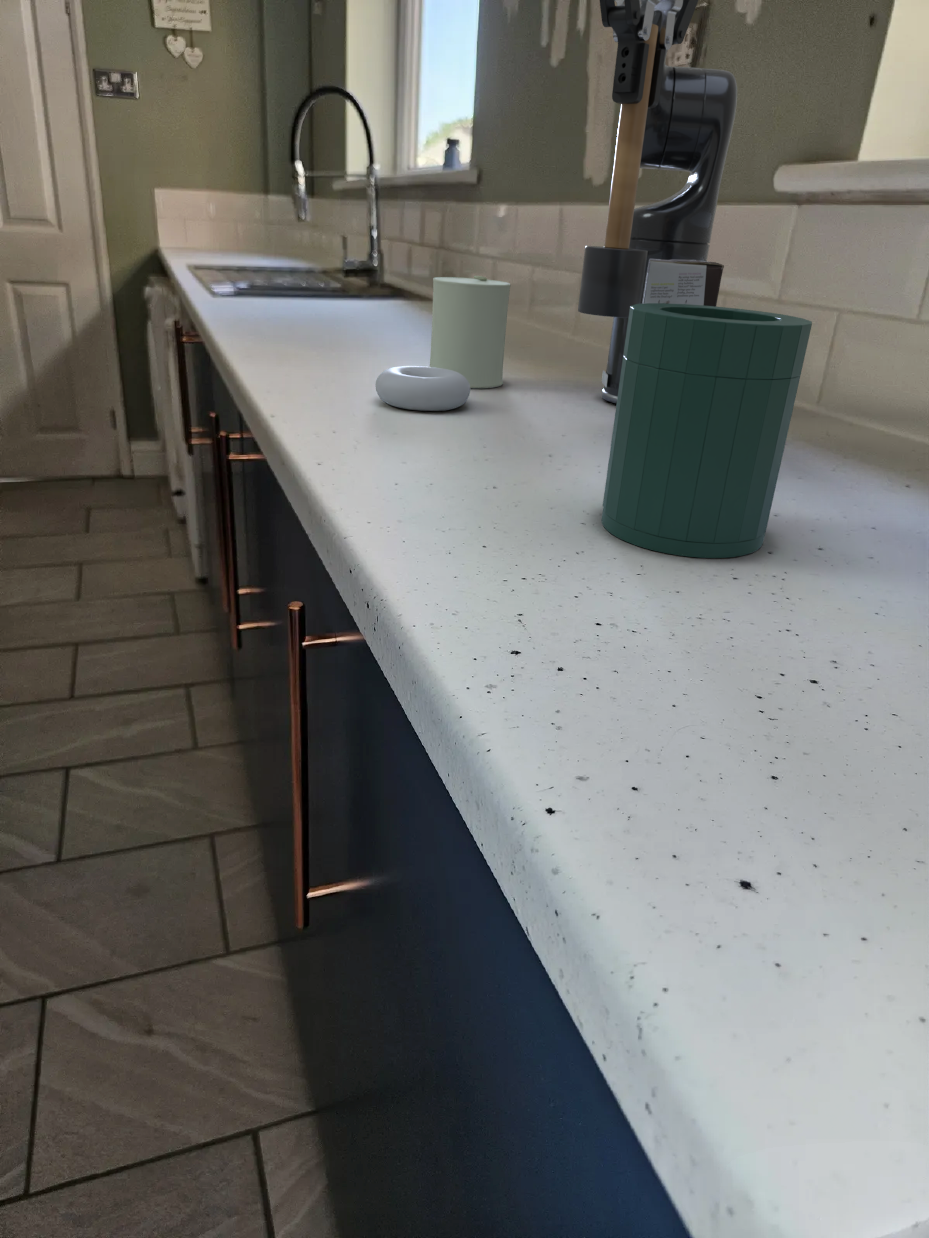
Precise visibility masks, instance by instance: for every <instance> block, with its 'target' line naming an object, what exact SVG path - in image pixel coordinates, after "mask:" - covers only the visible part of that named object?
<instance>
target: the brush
mask: <svg viewBox="0 0 929 1238" xmlns="http://www.w3.org/2000/svg"><path fill="white" fill-rule="evenodd" d="M657 34H658V26H657V25H655V24H652V27H651V33H650V37H649V39H648V40H647V41H644V43H647V44H649V52H648V59H647V67H646V75H645V82H644V90H643V97H642V100H641V101H640V102H639V103H637V104H620V112H619V119H618V128H617V135H616V136H617V137H616V145H615V153H614V160H613V161H614V162H613V170H612V178H611V185H610V195H609V203H608V210H607V217H606V226H605V235H604V244H603V246H600V245H599V246H597V245H585V246H584V254H583V260H582V262H583V264H582V271H581V281H580V289H579V297H578V307H577V312H579V313H580V314H585V315H590V316H598V317H607V318H613V317H625V318H629V311H630V306H632V305H635V304H640V302H641V295H642V288H643V281H644V274H645V267H646V260H647V253H648V251H647V250H639V249H629V245H630V237H631V230H632V222H633V215H634V209H635V208H636V207H635V206H636V199H637V192H638V184H639V177H640V170H641V168H640V162H641V155H642V147H643V140H644V132H645V125H646V117H647V110H648V102H649V95H650V87H651V80H652V72H653V65H654V57H655V50H656V42H657Z"/></svg>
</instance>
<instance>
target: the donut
mask: <svg viewBox="0 0 929 1238" xmlns="http://www.w3.org/2000/svg"><path fill="white" fill-rule="evenodd" d="M375 392H376V393H377V396H378V397H379V399H380V400H381V401H382V402H384V403H385V404H388V405H389V406H392V407H395V408H399V409H405V410H409V411H421V412H437V411H438V412H441V411H449V410H454V409H457V408H459V407H462V406H463V405H464V404H466V402H467V400H468V399H469V398H470V394H471V388H470V385H469V382H468V380H467V379H466V378H465V377H464V376H463V375H462V374H460V373H458V372H455V371H452V370H448V369H443V368H435V367H430V366H423V365H419V366H418V365H403V366H394V367H390V368H386V369H385V370H383V371H382V372H381V373H380V374H379V375H378V376H377V377H376V379H375Z"/></svg>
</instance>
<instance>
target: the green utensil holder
mask: <svg viewBox="0 0 929 1238" xmlns="http://www.w3.org/2000/svg"><path fill="white" fill-rule="evenodd" d="M812 326H813V321H811V320H809V319H806V318H803V317H798V316H794V315H788V314H781V313H777V312H776V313H775V312H769V311H763V310H752V309H745V308H736V307H735V308H734V307H725V306H717V305H716V306H715V307H714V306H703V305H688V304H666V303H645V304H635V305H632V306H630V311H629V318H628V325H627V333H626V340H625V347H624V356H623V361H622V368H621V376H620V383H619V390H618V397H617V404H616V406H615V412H614V418H613V419H614V420H613V428H612V433H611V434H612V435H611V441H610V442H611V443H610V449H609V455H608V456H609V457H608V464H607V471H606V478H605V485H604V493H603V500H602V514H601V524H602V526H603V528H604V529H605V530H606V531H608V533H610V534H611V535H612V536H614V537H615V538H617V539H620V540H622V541H624V542H626V543H628V544H631V545H634V546H637V547H640V548H643V549H646V550H650V551H654V552H658V553H662V554H663V553H664V554H668V555H675V556H680V557H681V556H682V557H688V558H689V557H690V558H699V559H700V558H701V559H726V558H736V557H742V556H747V555H750V554H753V553H755V552H757V551H759V549H761V547H762V546H763V544H764V540H765V536H766V532H767V529H768V523H769V519H770V514H771V509H772V506H773V501H774V497H775V493H776V492H775V491H776V487H777V483H778V478H779V474H780V470H781V464H782V462H783V461H782V460H783V455H784V451H785V446H786V442H787V438H788V433H789V429H790V425H791V421H792V416H793V411H794V406H795V403H796V397H797V394H798V390H799V389H798V388H799V384H800V379H801V374H802V370H803V366H804V362H805V358H806V352H807V349H808V344H809V339H810V335H811V330H812Z"/></svg>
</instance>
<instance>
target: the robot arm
mask: <svg viewBox="0 0 929 1238" xmlns="http://www.w3.org/2000/svg"><path fill="white" fill-rule="evenodd" d="M698 3H699V0H599V9H600V16H601V23H602V26H603V27H604V28H611V29H612V38H613V41H614V42H615V43H617V47H616V48H617V49H616V58H615V66H614V72H613V73H614V74H613V83H612V91H611V92H612V93H611V99H612V101H613V102H614V103H616V104H618V105H621V104H637V103H639V102H640V101H641V100H642V97H643V90H644V82H645V75H646V67H647V59H648V52H649V44H647V43H644V41H647V40H648V39H649V37H650V33H651V27H652V24H655V25H657V26H658V34H657V42H656V50H655V57H654V65H653V72H652V80H651V87H650V95H649V102H648V110H647V117H646V125H645V132H644V140H643V147H642V155H641V162H640V169H646V170H657V171H658V170H659V171H660V170H661V171H673V172H674V171H675V172H687V173H688V172H689V176H688V179H687V181H686V183H685V184H684V186H683V187H682V188H681V189H679V190H678V191H677V192H675V193H674V194H672V195H670V196H668V197H666V198H663V199H661V200H659V201H656V202H653V203H650V204H646V205H643V206H639V207H635V208H634V215H633V222H632V230H631V237H630V245H629V249H639V250H647V251H648V253H647V260H646V267H645V274H644V281H643V288H642V295H641V302H640V304H642V301H643V294H644V288H645V281H646V275H647V269H648V264H649V259H662V260H670V259H679V260H699V261H708V257H709V251H710V243H711V240H712V239H711V238H712V233H713V227H714V222H715V217H716V211H717V206H718V199H719V195H720V189H721V184H722V180H723V174H724V169H725V165H726V160H727V156H728V151H729V148H730V144H731V143H730V142H731V139H732V135H733V134H732V133H733V129H734V125H735V119H736V114H737V107H738V105H737V104H738V93H739V92H738V83H737V80H736V79H737V78H736V77H735V75H734V74H733V72H731V71H729V70H725V69H718V68H703V67H689V66H675V65H674V66H672V65H667V63H666V62H667V56H668V51H669V50H670V49H671V48H672V46H674V45H682V43H683V42H684V39H685V38H686V34H687V33H688V29H689V27H690V24H691V22H692V19H693V16H694V13H695V11H696V8H697V5H698ZM627 325H628V318H625V317H612V326H611V333H610V339H609V346H608V347H609V348H608V353H607V355H608V356H607V362H606V369H605V370H604V369H603V370H602V375H601V383H602V385H603V389H602V391H601V392H602V394H601V397H602V399H603V400H605V401H606V402H610V403H613V404H616V405H617V397H618V390H619V383H620V376H621V368H622V361H623V356H624V347H625V340H626V333H627Z"/></svg>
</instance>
